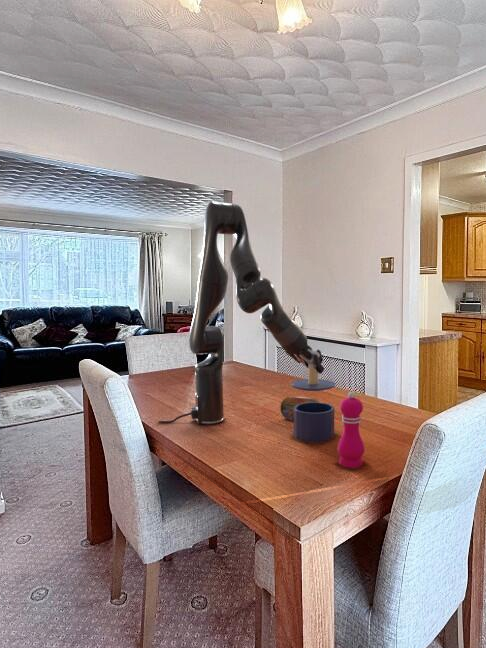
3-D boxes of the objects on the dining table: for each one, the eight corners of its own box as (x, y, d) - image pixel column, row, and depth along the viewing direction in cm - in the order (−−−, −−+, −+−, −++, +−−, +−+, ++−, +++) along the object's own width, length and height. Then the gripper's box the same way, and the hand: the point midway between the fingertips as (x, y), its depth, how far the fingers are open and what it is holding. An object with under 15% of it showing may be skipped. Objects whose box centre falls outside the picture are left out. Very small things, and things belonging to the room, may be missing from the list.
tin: (280, 419, 162) (279, 396, 161) (283, 416, 165) (283, 394, 164) (319, 424, 157) (320, 400, 155) (323, 421, 160) (323, 398, 158)
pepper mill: (335, 459, 126) (335, 388, 123) (361, 458, 126) (362, 388, 124) (339, 470, 119) (340, 395, 116) (367, 469, 119) (368, 395, 116)
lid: (300, 394, 133) (300, 361, 131) (285, 384, 145) (285, 354, 144) (342, 390, 137) (342, 358, 136) (324, 380, 150) (325, 352, 149)
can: (302, 445, 136) (302, 415, 135) (288, 432, 148) (288, 404, 147) (340, 440, 141) (340, 410, 139) (324, 428, 152) (324, 400, 151)
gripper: (312, 327, 129) (340, 364, 139) (279, 323, 139) (307, 358, 149) (299, 347, 126) (328, 384, 136) (266, 342, 136) (296, 376, 146)
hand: (317, 370), depth 142 cm, fingers closed on lid, 3 cm apart
